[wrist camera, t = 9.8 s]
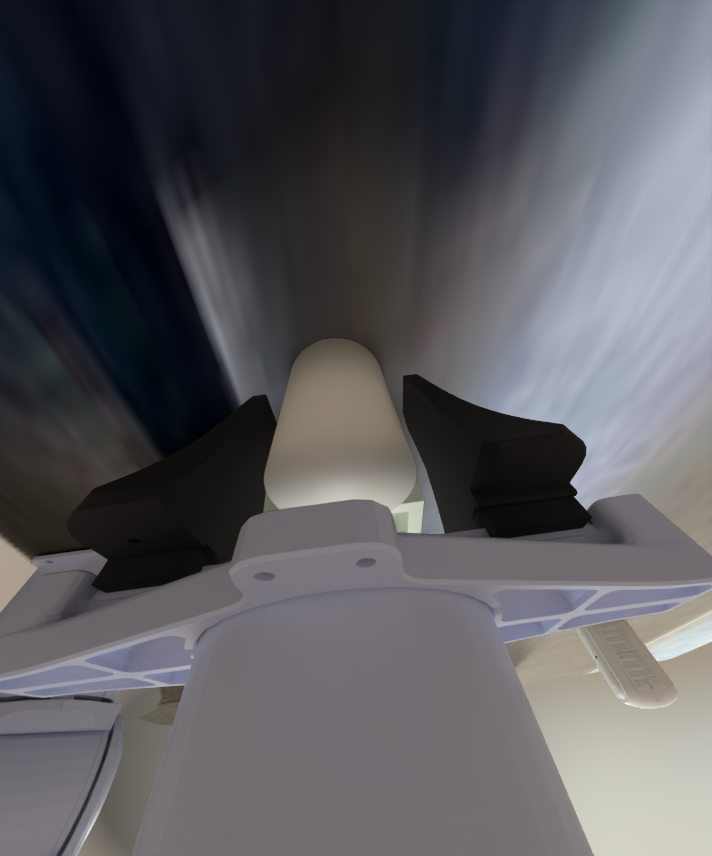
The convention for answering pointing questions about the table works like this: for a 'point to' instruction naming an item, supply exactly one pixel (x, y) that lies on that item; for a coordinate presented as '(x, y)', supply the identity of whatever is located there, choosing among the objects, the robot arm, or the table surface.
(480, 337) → the table surface
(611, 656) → the white rounded block
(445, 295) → the table surface
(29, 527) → the table surface
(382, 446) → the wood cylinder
